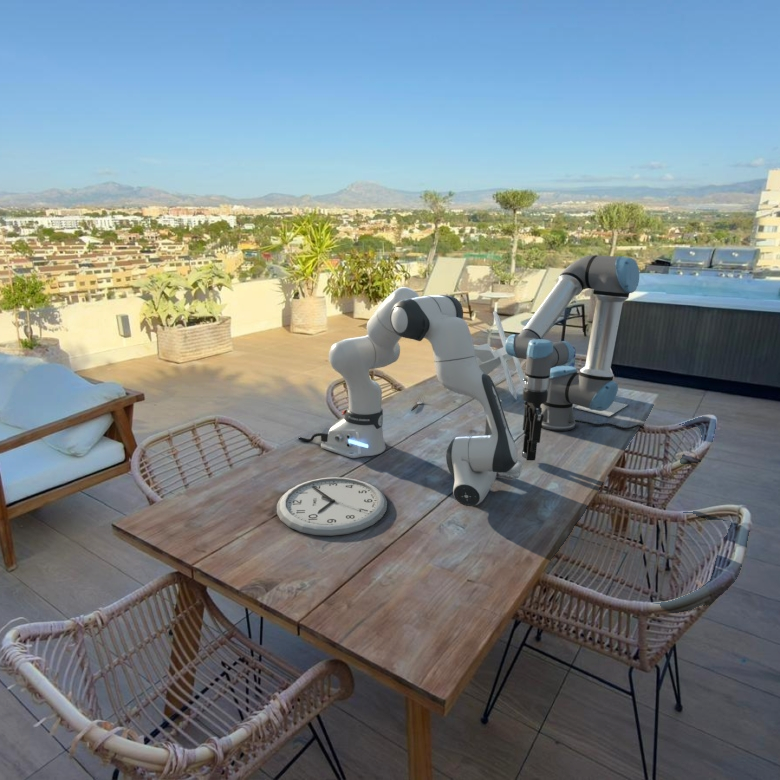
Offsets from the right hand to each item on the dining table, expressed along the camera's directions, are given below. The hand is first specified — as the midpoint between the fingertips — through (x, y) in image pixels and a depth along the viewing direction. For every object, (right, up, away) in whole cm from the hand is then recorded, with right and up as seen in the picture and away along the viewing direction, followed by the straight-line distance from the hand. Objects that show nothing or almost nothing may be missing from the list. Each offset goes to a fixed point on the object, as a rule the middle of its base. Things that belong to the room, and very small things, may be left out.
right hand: (528, 456), depth 172 cm
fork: (-34, +15, +51) cm, 63 cm away
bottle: (-14, -4, -8) cm, 17 cm away
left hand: (-14, +2, -9) cm, 17 cm away
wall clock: (-61, -10, -29) cm, 68 cm away
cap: (0, +1, 0) cm, 2 cm away
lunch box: (+32, +22, +78) cm, 87 cm away
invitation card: (+46, +14, +55) cm, 73 cm away
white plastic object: (-4, +21, +72) cm, 75 cm away
